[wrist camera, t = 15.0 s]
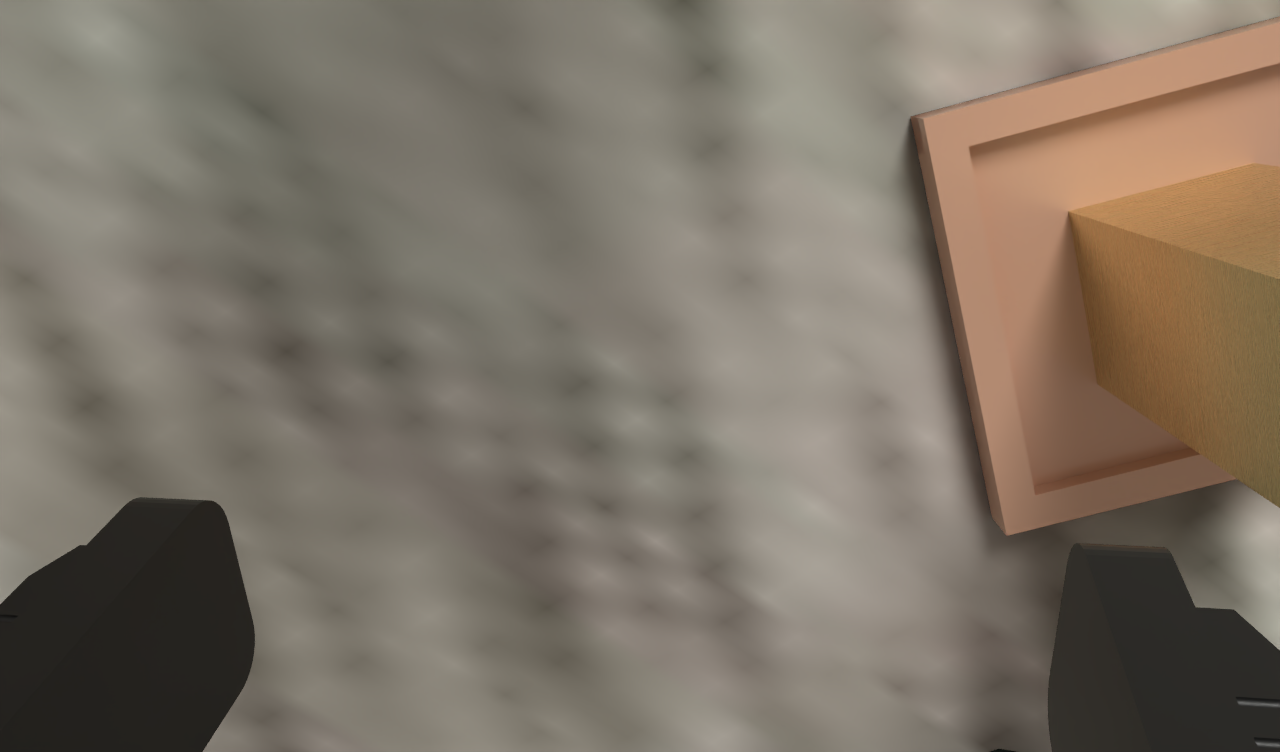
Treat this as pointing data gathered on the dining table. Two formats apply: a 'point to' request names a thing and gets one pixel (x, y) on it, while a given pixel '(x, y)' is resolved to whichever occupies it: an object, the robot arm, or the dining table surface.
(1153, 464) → the terracotta dish
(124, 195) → the dining table surface
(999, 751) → the wine bottle
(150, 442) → the dining table surface
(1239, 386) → the tan tall block
